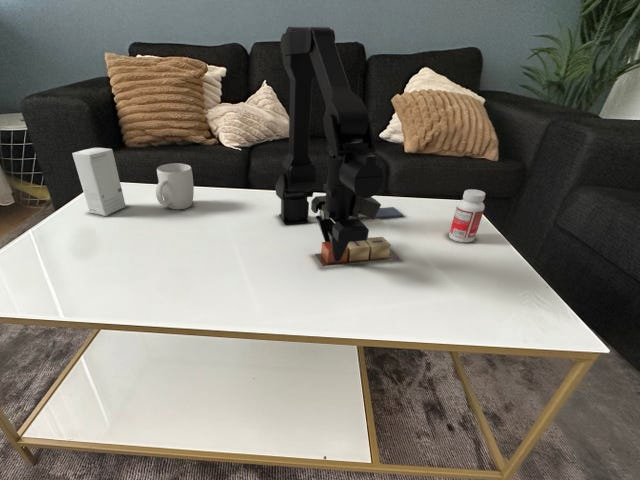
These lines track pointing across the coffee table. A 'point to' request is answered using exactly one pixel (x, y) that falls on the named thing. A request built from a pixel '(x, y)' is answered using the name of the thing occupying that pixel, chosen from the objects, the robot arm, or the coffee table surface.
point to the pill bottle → (467, 216)
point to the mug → (175, 185)
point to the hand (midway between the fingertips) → (334, 255)
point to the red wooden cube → (331, 253)
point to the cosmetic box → (99, 180)
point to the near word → (365, 251)
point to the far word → (381, 214)
